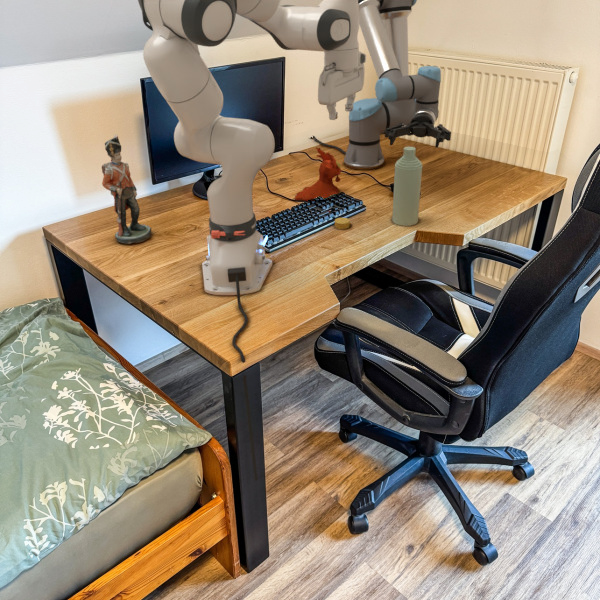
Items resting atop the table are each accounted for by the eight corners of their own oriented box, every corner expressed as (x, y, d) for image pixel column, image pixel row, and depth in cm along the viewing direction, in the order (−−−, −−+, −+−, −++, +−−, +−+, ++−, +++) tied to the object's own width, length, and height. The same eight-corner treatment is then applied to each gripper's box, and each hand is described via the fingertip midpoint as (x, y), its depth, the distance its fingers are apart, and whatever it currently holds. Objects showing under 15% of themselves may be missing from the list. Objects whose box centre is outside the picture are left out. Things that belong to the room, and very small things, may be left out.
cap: (336, 222, 172) (336, 217, 171) (351, 223, 171) (351, 217, 170) (333, 228, 168) (333, 223, 167) (348, 229, 167) (348, 224, 166)
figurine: (142, 245, 163) (121, 143, 147) (109, 243, 165) (84, 142, 149) (157, 230, 172) (139, 131, 156) (125, 228, 174) (104, 131, 158)
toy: (349, 195, 190) (350, 151, 182) (303, 205, 184) (301, 160, 176) (331, 183, 200) (331, 141, 192) (287, 193, 194) (284, 150, 186)
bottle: (408, 213, 176) (413, 142, 164) (423, 222, 170) (429, 149, 158) (387, 218, 173) (390, 146, 161) (401, 227, 167) (405, 154, 155)
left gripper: (333, 67, 135) (334, 125, 142) (368, 54, 150) (367, 107, 157) (310, 66, 138) (312, 123, 145) (347, 53, 153) (347, 105, 160)
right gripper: (460, 136, 184) (455, 156, 167) (384, 132, 191) (372, 151, 174) (463, 112, 180) (458, 131, 163) (385, 110, 187) (373, 127, 170)
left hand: (341, 115), depth 151 cm, fingers open, 8 cm apart
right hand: (413, 141), depth 168 cm, fingers open, 13 cm apart
